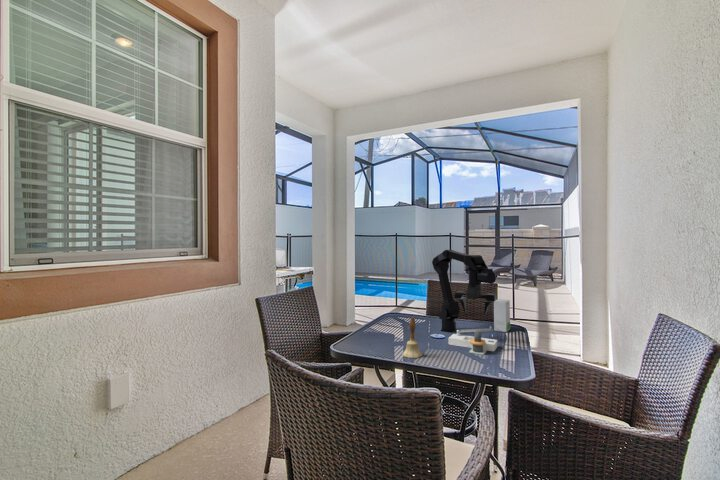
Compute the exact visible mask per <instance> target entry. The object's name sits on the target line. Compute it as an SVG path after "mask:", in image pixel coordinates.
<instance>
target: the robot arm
mask: <svg viewBox="0 0 720 480" xmlns="http://www.w3.org/2000/svg"><path fill="white" fill-rule="evenodd" d="M452 260H455V261H457V262H461V263H463V264H464V265H465V266H466V268H465V272H468V283H467V284H468V285H467V289H466V291H463V290H457V291H455V292H454V294H453V293H452V288H451V287H452V286H451V283H450V279H449V273H448V271H449V268H450V263H451V262H452ZM431 264H432V267H433V270H434V271H435V272H436V273H437V275H438V279H439V284H440V289H441V294H442V299H443V302H442V304H441V309H442V310H441V311H440V312H439V314H438V317H439V320H441V329H440V331H441V332H446V333H447V332H448V333H454V332H455V331H457V322H456V319H457V320H458V317H459V315H460V310H461V308H460V304H461V307H462V310H463V312H464V314H467V300H469V299H470V300H474V301H475V300H477V299H484V300H485V301H484V310H483V313H484V316H486V315H487V312H488V309H489V307H490V305H491V304H492V303H494V301H495V300H498V298H497V294H496V293H486V294H483V291H482V283H483V284H488V285H489V284H490V285H493V284H494V283H495V282H496V280H497V275H496V273H495V272H494V270H493V268H488V265H487V264H486V262H485V260H484V258H483V256H482V255H480V254H466V253H463V252H459V251H456V250H454V249H445V250H443V251H442V252H441V253H438V254H437V255H436V256H435V257H433V259H432V261H431ZM455 299H456V300H457V301H456V300H455ZM458 301H459V302H458ZM459 303H460V304H459Z"/></svg>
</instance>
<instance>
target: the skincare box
mask: <svg viewBox="0 0 720 480" xmlns="http://www.w3.org/2000/svg"><path fill="white" fill-rule="evenodd" d="M510 301H511V300H510V299H501V298H500V299H498V298H497V300H495V301H493V330H494V331H495V332H503V333H507V332H508V331H509V330H510V329H511V308H510V306H511V305H510V304H511V303H510Z"/></svg>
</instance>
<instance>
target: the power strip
mask: <svg viewBox="0 0 720 480" xmlns="http://www.w3.org/2000/svg"><path fill="white" fill-rule="evenodd" d="M471 339H474V336H473V335H465V334H464V335H463V334H462V332H461V333H457V332H456V333H452V334H451V335H450V336H449V337H448V345H451V346H458V347H464V348H471V349H472V348H473V344H471V343H470V340H471ZM481 340H484V341H486V344H485V345H483V349H484V350H487V351H488V352H495V351H496V349H497V348H498V339H494V338H492V339H491V338H485V337H481Z"/></svg>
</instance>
